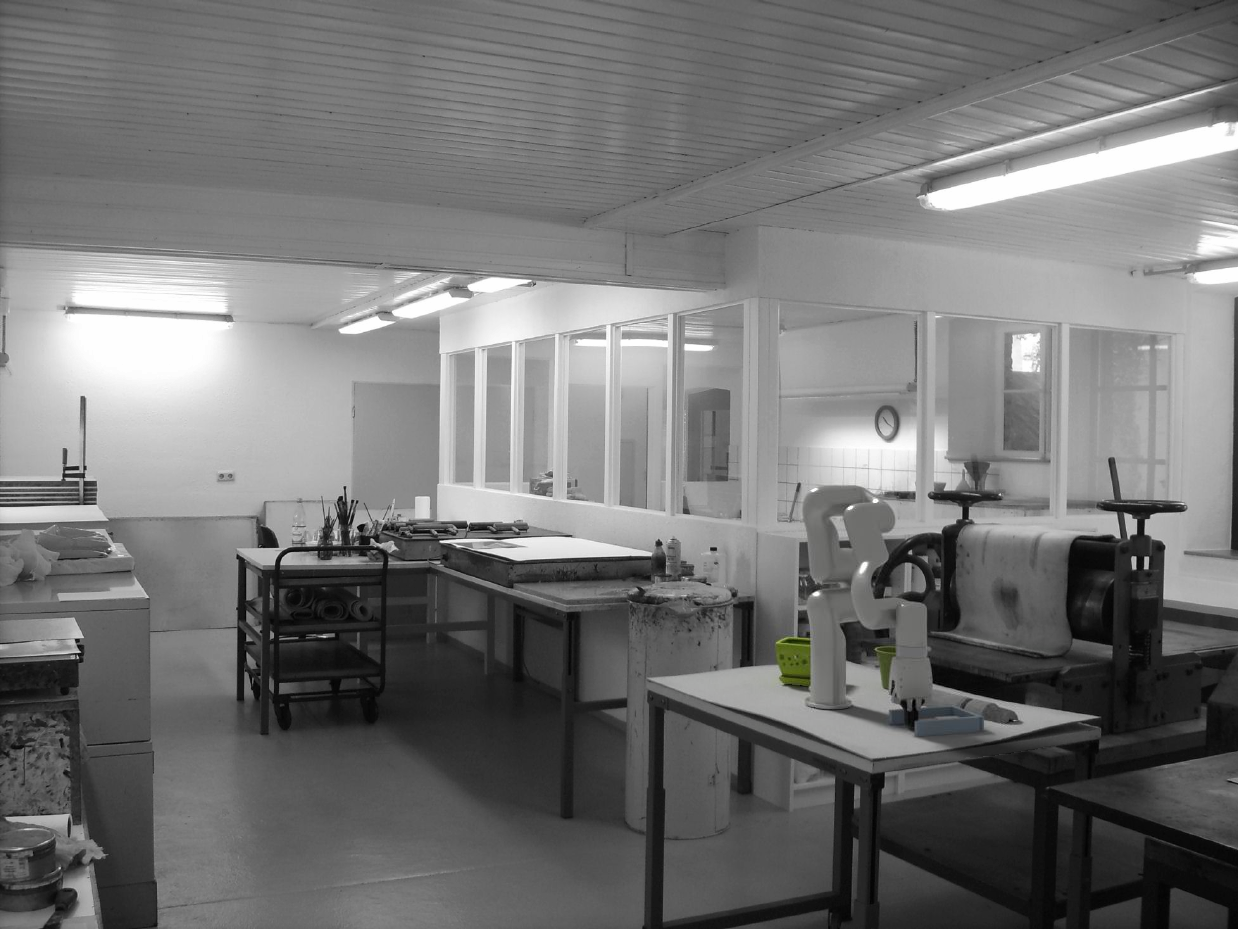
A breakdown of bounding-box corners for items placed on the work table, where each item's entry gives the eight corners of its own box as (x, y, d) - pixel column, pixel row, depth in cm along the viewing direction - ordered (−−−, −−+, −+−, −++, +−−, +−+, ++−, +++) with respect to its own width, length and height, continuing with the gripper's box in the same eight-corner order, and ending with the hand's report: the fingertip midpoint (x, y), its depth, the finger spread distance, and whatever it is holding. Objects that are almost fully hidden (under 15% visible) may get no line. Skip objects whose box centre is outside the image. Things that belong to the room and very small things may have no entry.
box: (889, 723, 271) (889, 710, 271) (953, 718, 276) (953, 705, 276) (917, 736, 258) (917, 722, 258) (983, 731, 263) (983, 717, 263)
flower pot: (819, 689, 311) (819, 646, 311) (773, 685, 317) (773, 642, 317) (831, 680, 324) (831, 639, 324) (787, 677, 330) (787, 635, 330)
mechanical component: (929, 684, 300) (1021, 705, 275) (929, 700, 300) (1021, 722, 275) (907, 688, 295) (999, 709, 270) (907, 704, 295) (999, 726, 270)
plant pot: (899, 694, 305) (899, 654, 305) (866, 687, 314) (866, 649, 314) (924, 688, 312) (924, 650, 312) (891, 682, 322) (891, 644, 322)
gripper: (929, 648, 271) (929, 720, 271) (876, 651, 266) (876, 724, 267) (946, 653, 263) (946, 727, 263) (892, 656, 259) (892, 732, 259)
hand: (911, 726), depth 265 cm, fingers closed
